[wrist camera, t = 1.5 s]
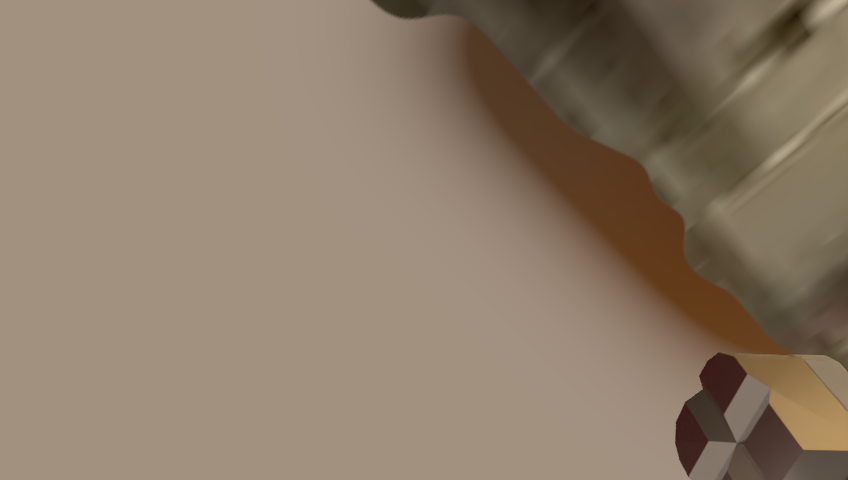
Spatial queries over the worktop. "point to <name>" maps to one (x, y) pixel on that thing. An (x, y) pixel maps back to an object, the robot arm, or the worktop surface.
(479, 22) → the worktop surface
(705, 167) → the worktop surface
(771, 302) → the worktop surface
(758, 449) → the robot arm
